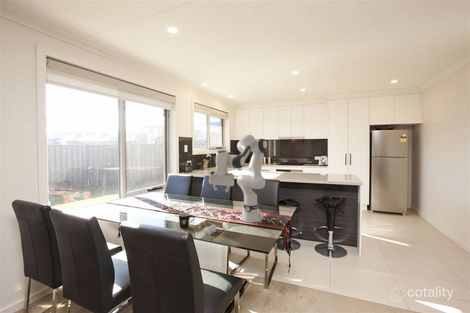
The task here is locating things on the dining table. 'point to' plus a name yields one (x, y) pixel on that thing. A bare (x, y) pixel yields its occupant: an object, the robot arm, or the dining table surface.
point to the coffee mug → (184, 220)
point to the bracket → (211, 230)
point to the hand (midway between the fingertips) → (221, 191)
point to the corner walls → (208, 222)
